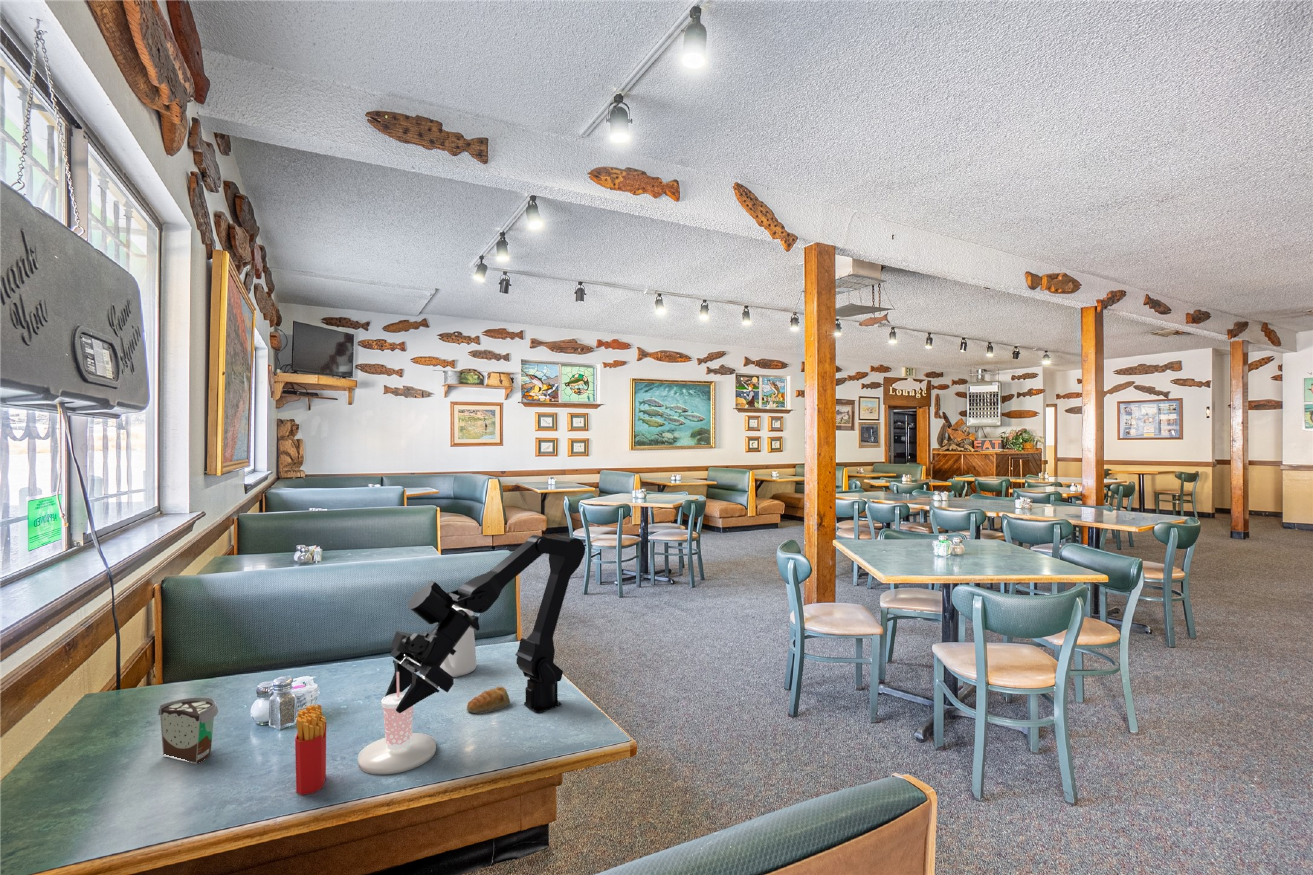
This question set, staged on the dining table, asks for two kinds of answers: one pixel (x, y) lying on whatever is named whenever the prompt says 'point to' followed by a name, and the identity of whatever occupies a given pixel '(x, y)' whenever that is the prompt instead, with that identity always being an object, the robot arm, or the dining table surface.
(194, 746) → the food container
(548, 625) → the robot arm
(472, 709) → the pastry
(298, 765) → the french fries
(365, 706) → the dining table surface
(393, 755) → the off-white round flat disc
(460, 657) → the coffeepot
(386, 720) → the beverage cup
